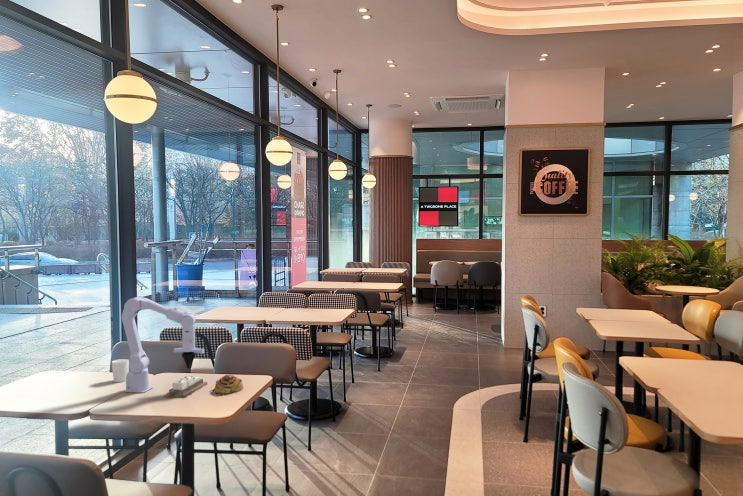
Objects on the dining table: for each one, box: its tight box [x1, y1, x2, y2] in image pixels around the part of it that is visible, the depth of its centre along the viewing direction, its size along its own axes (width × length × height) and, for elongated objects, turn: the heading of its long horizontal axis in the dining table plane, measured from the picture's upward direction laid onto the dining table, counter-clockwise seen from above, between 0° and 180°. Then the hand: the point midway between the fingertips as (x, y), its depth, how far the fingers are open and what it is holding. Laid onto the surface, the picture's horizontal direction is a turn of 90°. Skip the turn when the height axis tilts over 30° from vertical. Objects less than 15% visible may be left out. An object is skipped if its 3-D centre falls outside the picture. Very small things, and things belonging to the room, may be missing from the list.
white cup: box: [111, 358, 130, 383], centre depth 267 cm, size 8×8×10 cm
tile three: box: [190, 375, 201, 383], centre depth 255 cm, size 5×5×3 cm
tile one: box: [172, 380, 187, 390], centre depth 243 cm, size 5×5×3 cm
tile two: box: [179, 376, 195, 386], centre depth 249 cm, size 5×5×3 cm
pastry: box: [213, 374, 244, 396], centre depth 250 cm, size 13×15×8 cm
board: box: [164, 378, 208, 399], centre depth 249 cm, size 10×21×3 cm, turn 170°
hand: (189, 367), depth 252 cm, fingers closed
